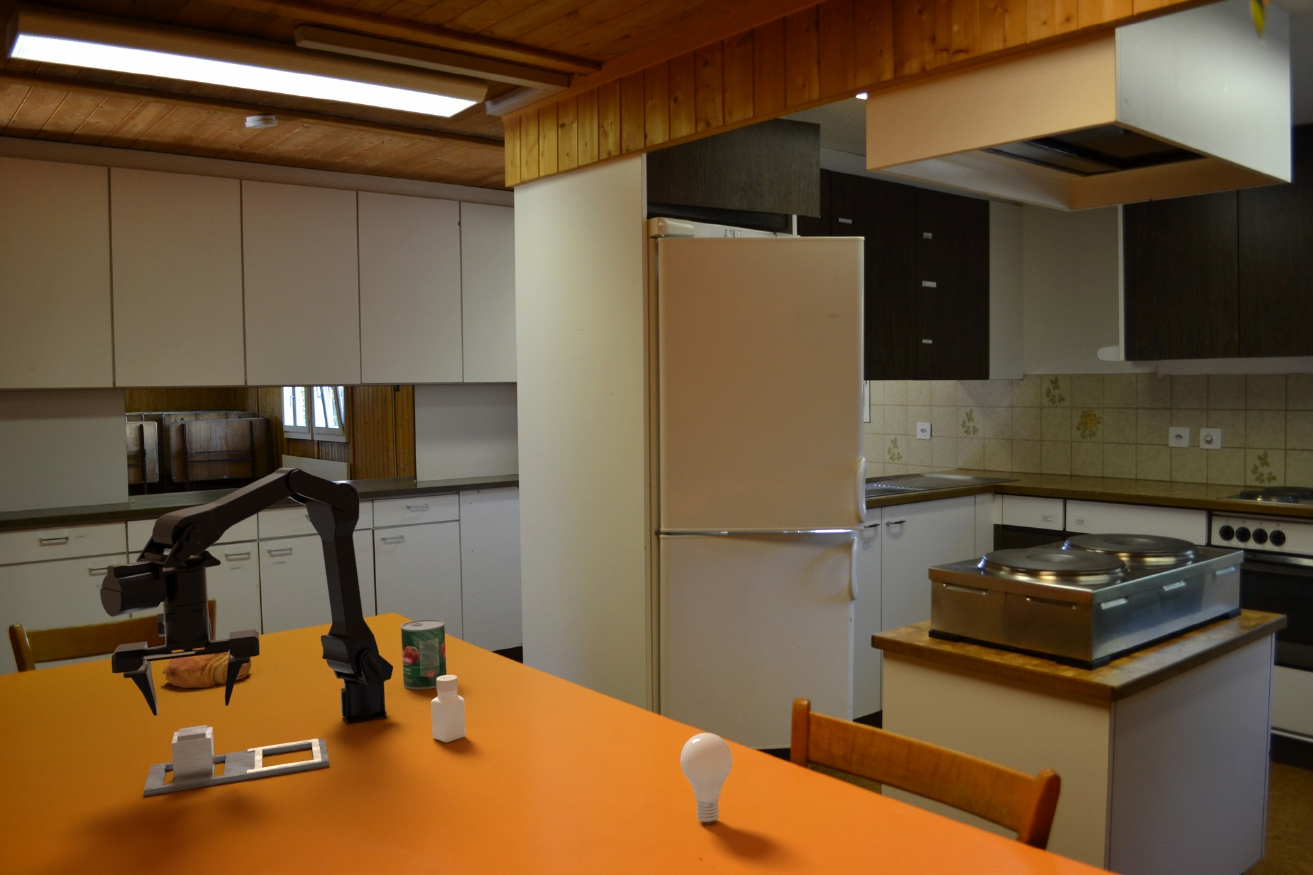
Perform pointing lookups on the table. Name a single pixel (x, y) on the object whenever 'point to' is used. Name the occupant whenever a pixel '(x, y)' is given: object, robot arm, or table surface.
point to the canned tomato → (423, 653)
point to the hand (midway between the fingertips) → (191, 709)
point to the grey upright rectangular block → (193, 753)
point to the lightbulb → (706, 771)
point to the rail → (242, 766)
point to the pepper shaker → (448, 710)
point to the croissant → (201, 670)
